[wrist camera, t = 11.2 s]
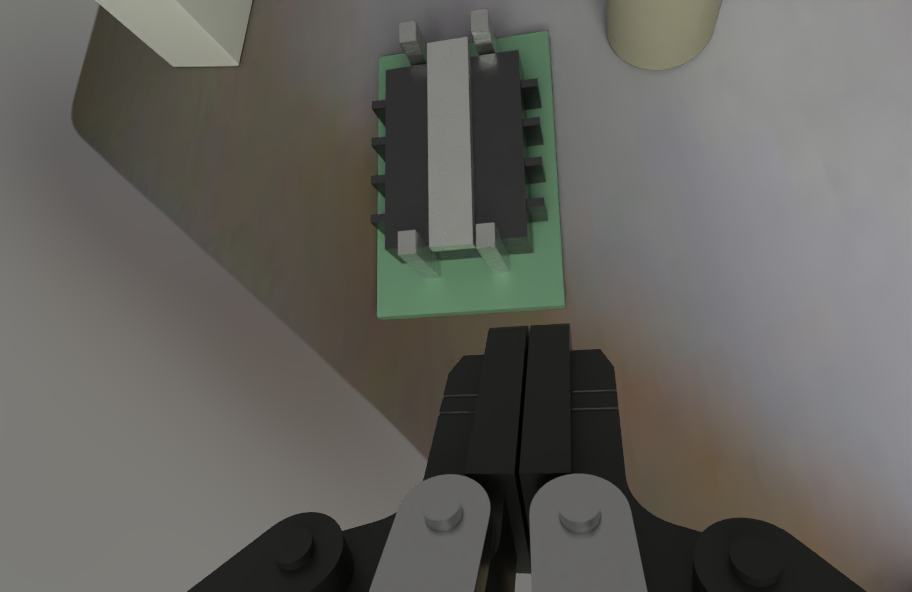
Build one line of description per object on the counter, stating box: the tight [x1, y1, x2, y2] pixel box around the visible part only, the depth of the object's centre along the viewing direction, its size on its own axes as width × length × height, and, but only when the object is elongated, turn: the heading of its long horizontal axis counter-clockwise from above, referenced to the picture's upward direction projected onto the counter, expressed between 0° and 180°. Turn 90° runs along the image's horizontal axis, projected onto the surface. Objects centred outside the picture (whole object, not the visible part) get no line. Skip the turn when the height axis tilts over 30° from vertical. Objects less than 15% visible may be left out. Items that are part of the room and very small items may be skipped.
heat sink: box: [371, 8, 548, 279], centre depth 45 cm, size 17×12×7 cm
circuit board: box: [377, 30, 566, 320], centre depth 48 cm, size 22×14×1 cm, turn 2°
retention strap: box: [427, 37, 476, 252], centre depth 43 cm, size 16×3×1 cm, turn 2°
